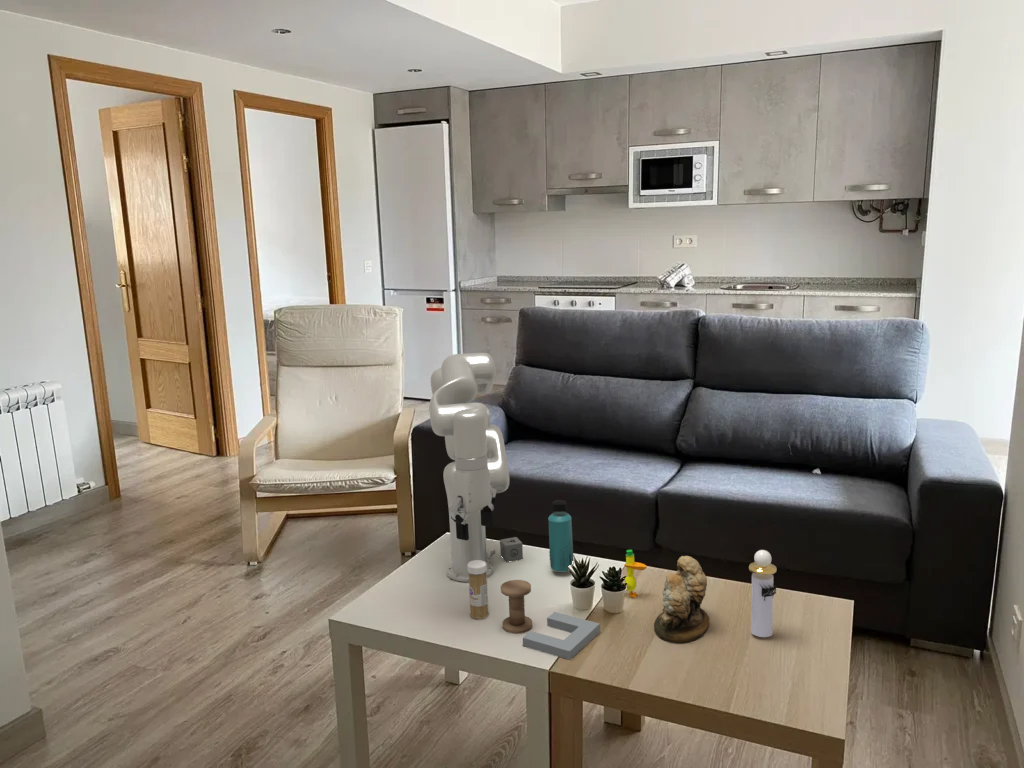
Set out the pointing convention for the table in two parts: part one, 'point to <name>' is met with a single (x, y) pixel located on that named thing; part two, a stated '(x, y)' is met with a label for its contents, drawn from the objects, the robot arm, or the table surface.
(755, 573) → the perfume bottle
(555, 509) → the beverage bottle
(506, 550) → the dice cube
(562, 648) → the notched board
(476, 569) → the sprinkles bottle
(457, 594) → the table surface
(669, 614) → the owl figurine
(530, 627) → the spool
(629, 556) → the toy figure
